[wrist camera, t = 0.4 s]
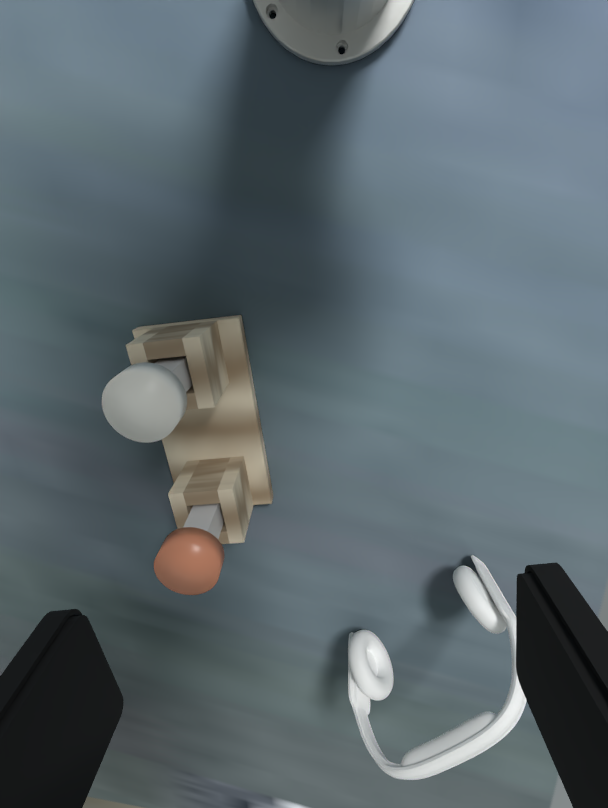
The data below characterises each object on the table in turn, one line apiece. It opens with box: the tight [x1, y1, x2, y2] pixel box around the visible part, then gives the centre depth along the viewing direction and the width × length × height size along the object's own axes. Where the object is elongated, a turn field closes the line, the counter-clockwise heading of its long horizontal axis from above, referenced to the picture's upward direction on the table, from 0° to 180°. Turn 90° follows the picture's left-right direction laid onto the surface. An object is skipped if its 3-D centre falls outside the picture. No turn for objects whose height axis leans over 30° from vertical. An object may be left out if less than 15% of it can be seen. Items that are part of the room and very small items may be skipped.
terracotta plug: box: [154, 503, 224, 595], centre depth 39 cm, size 5×5×8 cm
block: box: [126, 315, 273, 544], centre depth 42 cm, size 20×10×8 cm, turn 7°
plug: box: [102, 356, 193, 443], centre depth 33 cm, size 5×5×8 cm
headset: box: [348, 555, 526, 780], centre depth 45 cm, size 20×7×18 cm, turn 134°
